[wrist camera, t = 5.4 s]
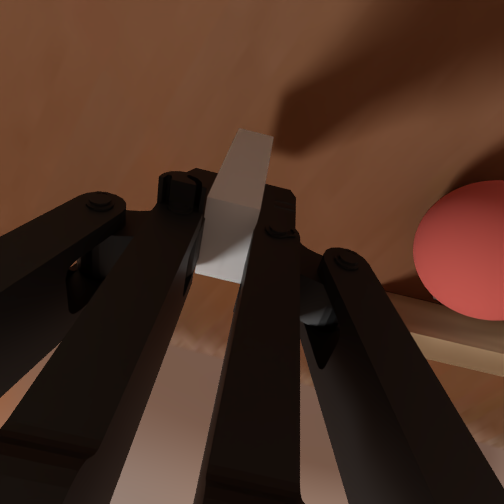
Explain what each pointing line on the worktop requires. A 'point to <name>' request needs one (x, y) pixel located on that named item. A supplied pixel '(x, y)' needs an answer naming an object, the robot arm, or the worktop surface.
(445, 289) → the ball
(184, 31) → the worktop surface
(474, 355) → the wooden angle block
